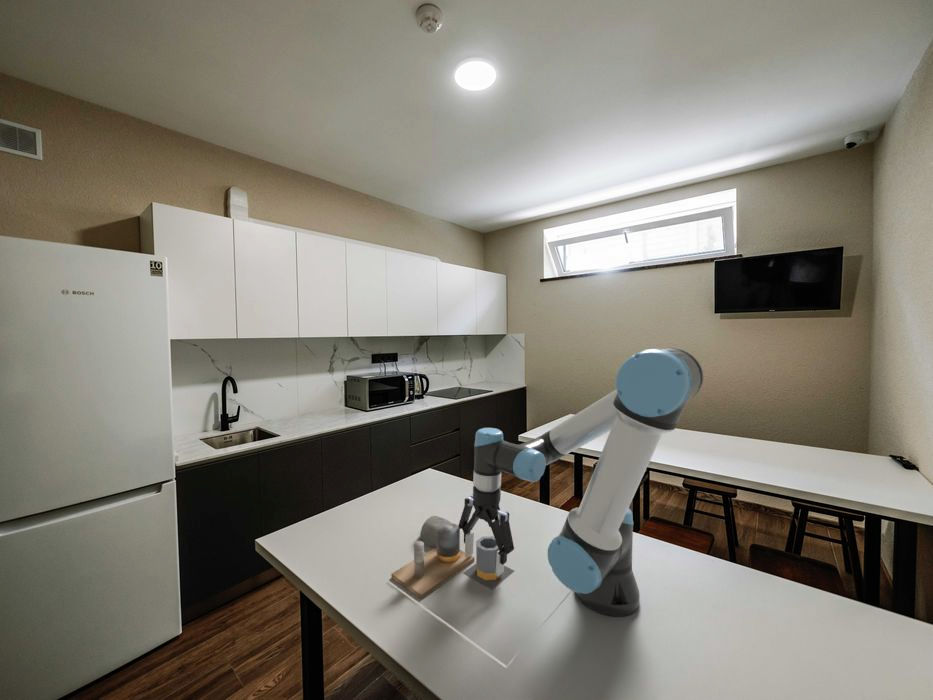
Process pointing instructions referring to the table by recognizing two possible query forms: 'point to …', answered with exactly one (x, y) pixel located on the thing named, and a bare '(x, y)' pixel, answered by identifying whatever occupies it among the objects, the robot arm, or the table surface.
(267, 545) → the table surface
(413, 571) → the pin board
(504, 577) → the pad
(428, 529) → the stone
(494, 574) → the sleeve
